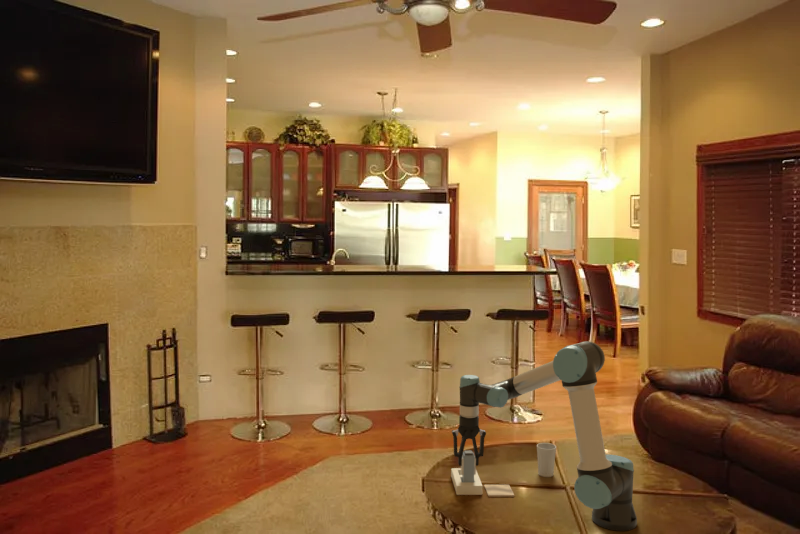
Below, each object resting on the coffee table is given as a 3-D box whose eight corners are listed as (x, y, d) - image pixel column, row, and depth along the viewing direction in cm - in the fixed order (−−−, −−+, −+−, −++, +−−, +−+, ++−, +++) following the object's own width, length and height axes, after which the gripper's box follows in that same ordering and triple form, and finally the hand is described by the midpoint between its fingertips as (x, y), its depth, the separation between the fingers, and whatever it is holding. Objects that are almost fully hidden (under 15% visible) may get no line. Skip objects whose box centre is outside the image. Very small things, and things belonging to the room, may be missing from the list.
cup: (557, 477, 269) (558, 449, 268) (537, 477, 269) (538, 449, 268) (553, 470, 277) (554, 442, 276) (534, 470, 277) (535, 442, 276)
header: (482, 494, 252) (482, 485, 252) (456, 494, 251) (456, 486, 251) (475, 476, 270) (475, 468, 269) (451, 476, 269) (451, 468, 269)
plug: (473, 486, 255) (474, 453, 254) (463, 486, 255) (464, 453, 254) (472, 482, 259) (472, 450, 258) (462, 482, 259) (462, 450, 258)
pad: (514, 496, 250) (514, 495, 250) (488, 496, 250) (488, 495, 250) (508, 485, 260) (509, 484, 260) (484, 486, 260) (484, 484, 260)
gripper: (489, 412, 259) (488, 469, 260) (446, 412, 258) (445, 469, 260) (492, 417, 251) (491, 476, 253) (448, 418, 251) (447, 477, 252)
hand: (468, 473), depth 256 cm, fingers closed on plug, 4 cm apart
